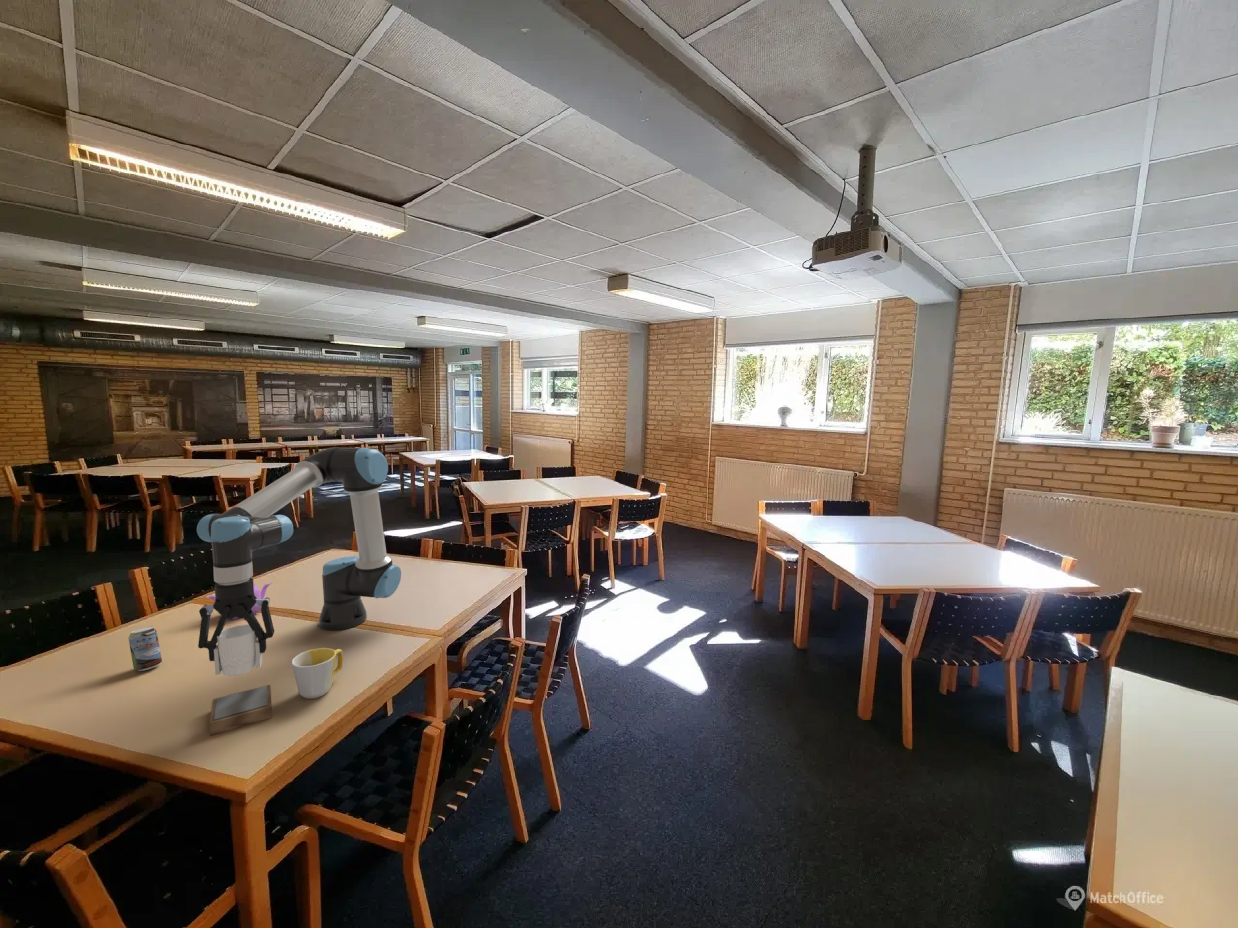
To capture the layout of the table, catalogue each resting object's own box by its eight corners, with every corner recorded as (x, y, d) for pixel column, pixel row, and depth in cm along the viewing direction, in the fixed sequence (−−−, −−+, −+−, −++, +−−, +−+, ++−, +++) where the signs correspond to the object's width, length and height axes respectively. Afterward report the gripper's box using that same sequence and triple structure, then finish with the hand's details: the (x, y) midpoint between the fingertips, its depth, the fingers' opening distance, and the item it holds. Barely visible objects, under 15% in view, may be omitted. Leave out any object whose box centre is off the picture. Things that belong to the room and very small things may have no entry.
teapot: (240, 605, 190) (238, 578, 189) (274, 606, 190) (272, 579, 189) (206, 622, 175) (204, 593, 174) (244, 623, 175) (242, 594, 174)
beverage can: (144, 674, 141) (141, 635, 139) (124, 671, 142) (121, 632, 141) (168, 664, 147) (165, 625, 146) (149, 661, 148) (146, 623, 147)
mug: (307, 708, 127) (305, 670, 126) (285, 696, 132) (283, 659, 131) (357, 683, 139) (355, 648, 138) (335, 673, 144) (333, 639, 143)
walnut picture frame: (271, 694, 133) (270, 683, 132) (272, 717, 123) (271, 705, 123) (213, 710, 125) (212, 697, 125) (210, 735, 116) (209, 722, 116)
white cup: (233, 661, 126) (231, 624, 125) (266, 661, 127) (263, 624, 126) (211, 678, 119) (208, 638, 118) (245, 677, 119) (243, 638, 118)
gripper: (286, 570, 128) (290, 653, 131) (185, 580, 119) (192, 669, 122) (281, 579, 122) (285, 666, 124) (174, 591, 113) (181, 685, 115)
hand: (239, 668), depth 123 cm, fingers closed on white cup, 7 cm apart
